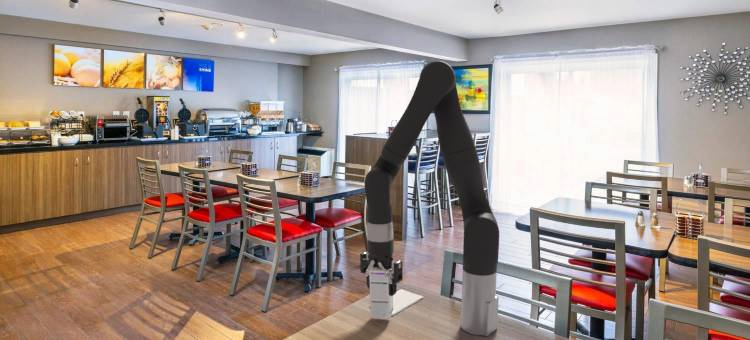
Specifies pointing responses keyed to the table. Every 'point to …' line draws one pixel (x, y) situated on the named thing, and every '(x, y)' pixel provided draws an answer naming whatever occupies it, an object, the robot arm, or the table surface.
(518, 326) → the table surface
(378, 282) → the syrup box
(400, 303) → the mat
